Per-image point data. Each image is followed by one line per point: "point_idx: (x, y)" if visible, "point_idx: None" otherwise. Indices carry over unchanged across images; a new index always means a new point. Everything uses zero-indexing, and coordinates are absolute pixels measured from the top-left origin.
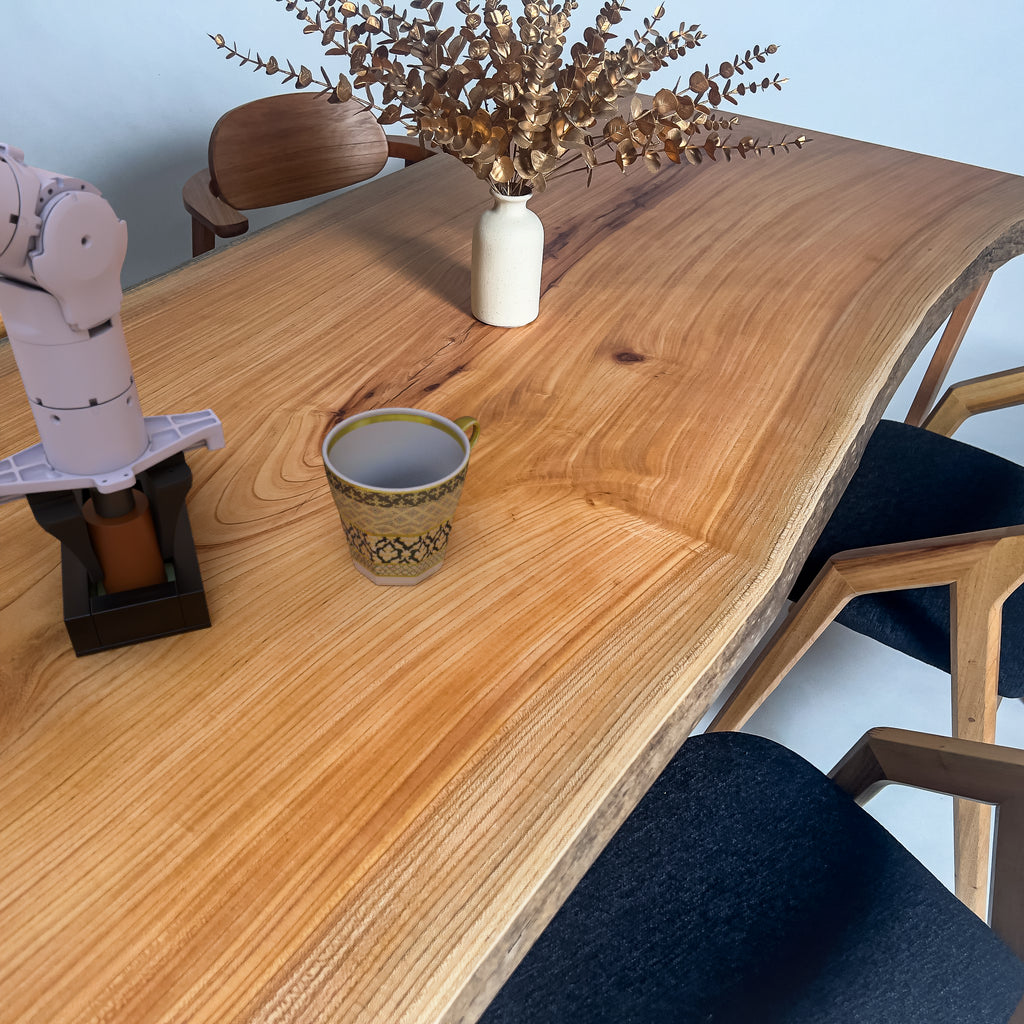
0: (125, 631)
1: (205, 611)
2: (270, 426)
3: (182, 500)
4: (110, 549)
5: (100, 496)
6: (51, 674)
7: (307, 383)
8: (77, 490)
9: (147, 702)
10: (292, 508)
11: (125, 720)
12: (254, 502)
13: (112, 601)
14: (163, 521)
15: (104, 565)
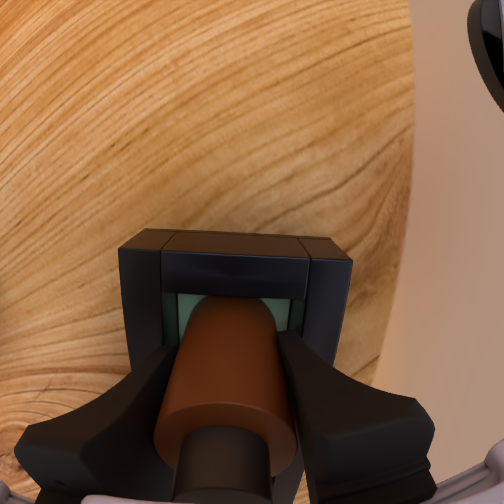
0: (261, 240)
1: (138, 236)
2: None
3: (72, 412)
4: (255, 364)
5: (249, 482)
6: (362, 220)
7: None
8: (278, 482)
9: (252, 115)
10: (53, 389)
11: (284, 96)
12: None
13: (271, 277)
14: (134, 391)
15: (272, 348)
